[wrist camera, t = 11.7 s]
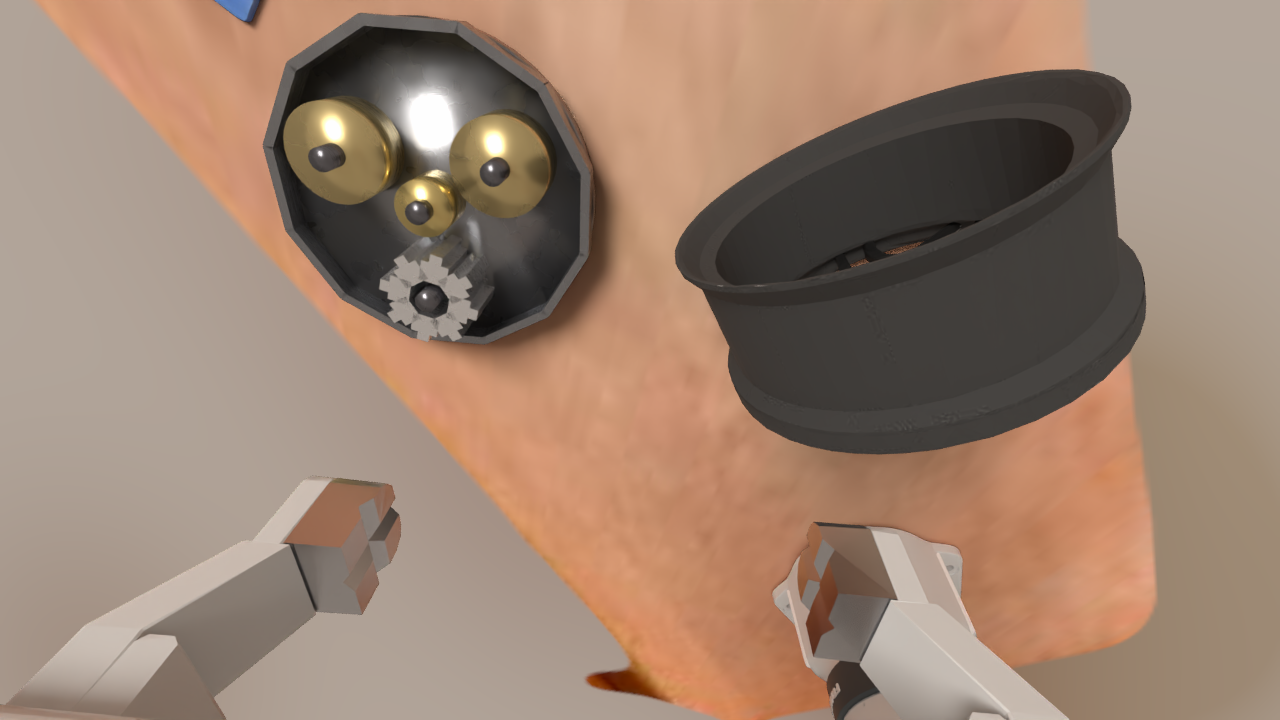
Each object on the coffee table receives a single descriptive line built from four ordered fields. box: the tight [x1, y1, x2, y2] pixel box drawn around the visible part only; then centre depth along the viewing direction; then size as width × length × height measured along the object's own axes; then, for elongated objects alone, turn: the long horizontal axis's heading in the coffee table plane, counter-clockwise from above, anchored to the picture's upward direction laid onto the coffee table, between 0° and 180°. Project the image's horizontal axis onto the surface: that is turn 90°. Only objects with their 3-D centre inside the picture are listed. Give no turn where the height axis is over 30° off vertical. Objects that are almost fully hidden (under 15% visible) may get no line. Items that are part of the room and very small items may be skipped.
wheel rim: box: [675, 69, 1146, 454], centre depth 29 cm, size 20×9×20 cm, turn 117°
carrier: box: [263, 13, 596, 344], centre depth 36 cm, size 21×21×6 cm
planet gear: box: [379, 235, 495, 342], centre depth 39 cm, size 7×7×4 cm
